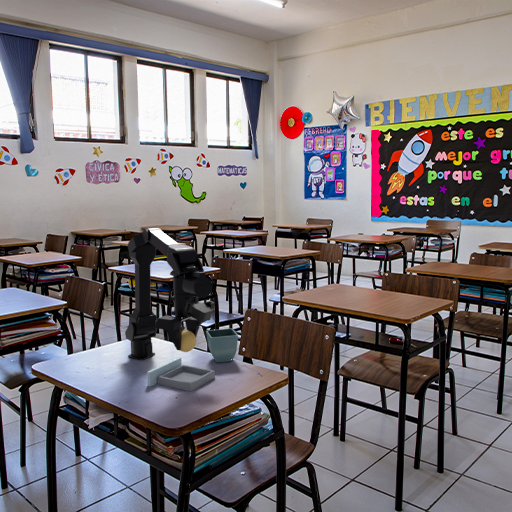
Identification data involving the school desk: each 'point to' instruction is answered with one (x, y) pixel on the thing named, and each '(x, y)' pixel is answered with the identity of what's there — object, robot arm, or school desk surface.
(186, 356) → the school desk surface
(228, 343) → the flower pot
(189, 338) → the ball
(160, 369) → the wall
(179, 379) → the dish
